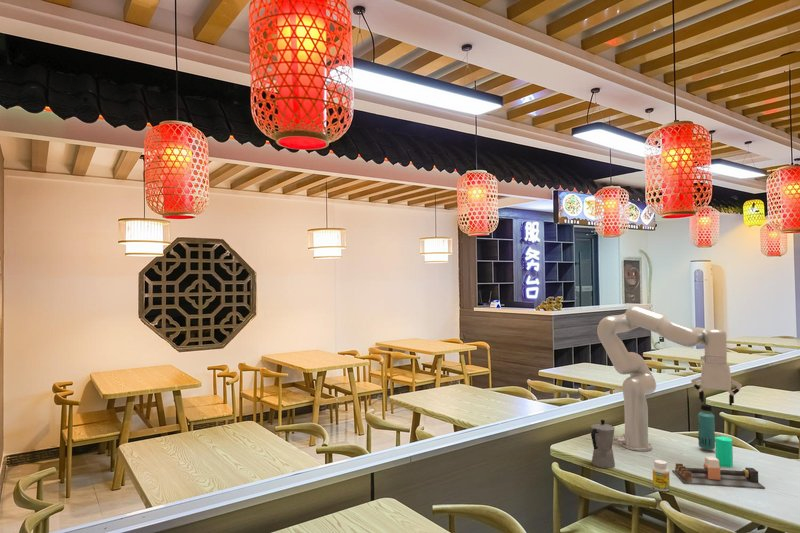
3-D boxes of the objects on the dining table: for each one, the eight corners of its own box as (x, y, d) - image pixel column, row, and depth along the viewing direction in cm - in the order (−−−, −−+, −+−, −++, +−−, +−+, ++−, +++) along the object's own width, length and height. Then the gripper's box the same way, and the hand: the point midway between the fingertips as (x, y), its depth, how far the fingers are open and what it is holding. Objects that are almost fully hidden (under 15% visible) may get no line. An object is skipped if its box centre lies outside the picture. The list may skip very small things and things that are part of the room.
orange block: (708, 479, 190) (708, 460, 190) (704, 474, 194) (703, 456, 194) (720, 479, 189) (720, 460, 190) (715, 475, 193) (715, 456, 194)
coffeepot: (600, 457, 216) (599, 414, 216) (622, 463, 209) (621, 419, 209) (581, 466, 206) (580, 421, 206) (603, 472, 199) (603, 426, 199)
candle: (730, 462, 209) (730, 433, 210) (734, 467, 204) (734, 437, 204) (713, 461, 211) (713, 431, 212) (717, 466, 206) (717, 436, 206)
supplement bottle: (668, 486, 185) (668, 460, 185) (670, 492, 180) (670, 465, 180) (652, 484, 187) (651, 458, 187) (653, 490, 182) (653, 463, 182)
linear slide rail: (683, 483, 188) (683, 471, 188) (672, 471, 200) (672, 459, 200) (764, 489, 183) (764, 476, 183) (748, 476, 195) (748, 464, 195)
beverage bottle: (710, 448, 227) (710, 403, 228) (718, 453, 221) (717, 406, 221) (695, 447, 228) (694, 402, 228) (702, 452, 221) (702, 406, 222)
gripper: (689, 359, 207) (690, 402, 206) (741, 363, 197) (741, 408, 196) (692, 357, 213) (692, 398, 212) (742, 361, 203) (742, 404, 202)
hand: (716, 403), depth 204 cm, fingers open, 9 cm apart
